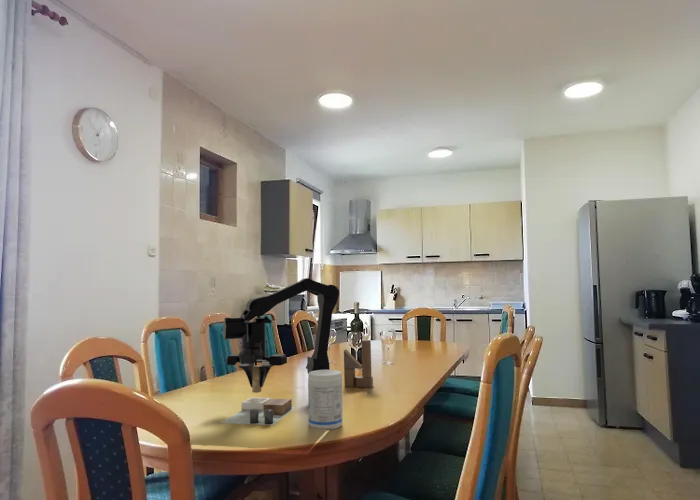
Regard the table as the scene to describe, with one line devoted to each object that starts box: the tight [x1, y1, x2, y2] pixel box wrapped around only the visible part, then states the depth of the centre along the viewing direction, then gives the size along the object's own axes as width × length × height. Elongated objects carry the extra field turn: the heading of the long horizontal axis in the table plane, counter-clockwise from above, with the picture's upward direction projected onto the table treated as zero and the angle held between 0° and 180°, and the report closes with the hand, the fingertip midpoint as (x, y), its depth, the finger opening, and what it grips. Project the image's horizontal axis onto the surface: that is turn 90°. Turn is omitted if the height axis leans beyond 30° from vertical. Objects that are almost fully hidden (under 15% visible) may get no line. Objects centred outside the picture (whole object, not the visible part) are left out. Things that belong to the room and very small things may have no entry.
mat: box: [220, 406, 298, 426], centre depth 143 cm, size 16×21×1 cm
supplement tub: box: [307, 369, 344, 431], centre depth 133 cm, size 10×10×15 cm
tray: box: [241, 397, 272, 411], centre depth 151 cm, size 7×7×2 cm
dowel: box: [251, 365, 262, 394], centre depth 152 cm, size 3×3×8 cm
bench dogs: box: [250, 409, 273, 425], centre depth 134 cm, size 7×2×4 cm, turn 77°
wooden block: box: [343, 339, 374, 389], centre depth 187 cm, size 4×11×18 cm, turn 75°
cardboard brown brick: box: [264, 398, 293, 416], centre depth 146 cm, size 6×8×3 cm
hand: (256, 387), depth 151 cm, fingers closed on dowel, 3 cm apart
